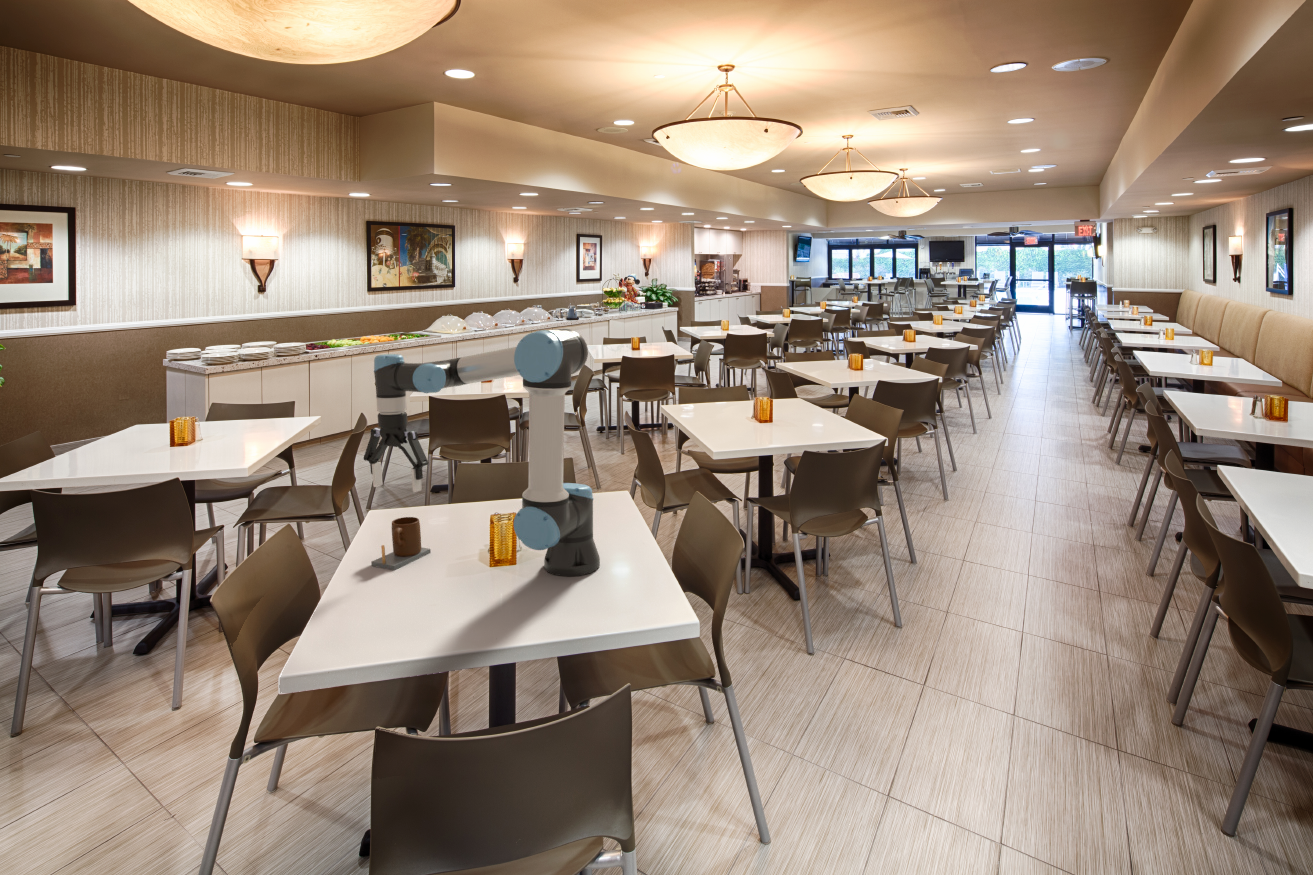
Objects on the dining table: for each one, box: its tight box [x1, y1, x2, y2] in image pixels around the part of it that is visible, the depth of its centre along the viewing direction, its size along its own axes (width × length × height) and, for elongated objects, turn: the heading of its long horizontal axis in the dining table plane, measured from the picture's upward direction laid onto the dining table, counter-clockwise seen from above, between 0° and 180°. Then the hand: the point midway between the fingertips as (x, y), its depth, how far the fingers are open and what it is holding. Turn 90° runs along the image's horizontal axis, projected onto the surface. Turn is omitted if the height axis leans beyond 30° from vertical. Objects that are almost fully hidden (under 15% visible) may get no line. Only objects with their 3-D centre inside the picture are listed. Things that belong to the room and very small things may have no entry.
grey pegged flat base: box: [371, 544, 432, 571], centre depth 204 cm, size 8×15×6 cm, turn 158°
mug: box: [391, 516, 422, 557], centre depth 203 cm, size 12×8×9 cm, turn 178°
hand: (397, 488), depth 201 cm, fingers open, 13 cm apart
